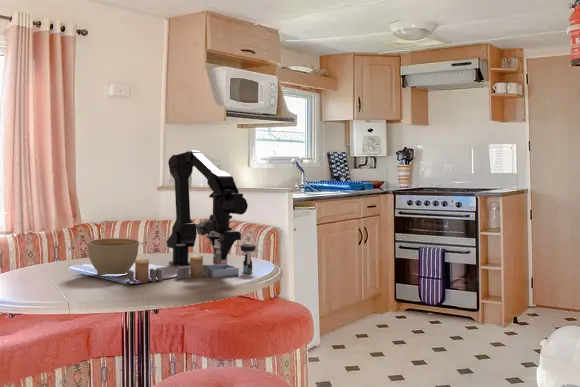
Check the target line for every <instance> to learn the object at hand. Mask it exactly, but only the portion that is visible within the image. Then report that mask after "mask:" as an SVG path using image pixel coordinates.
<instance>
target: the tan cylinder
mask: <svg viewBox="0 0 580 387" xmlns="http://www.w3.org/2000/svg"><path fill="white" fill-rule="evenodd" d="M189 259H190V260H189V262H190V264H189V278H192V279H201V278H203V273H202V272H203V265H204V262H203V261H204V260H203V259H204V256H203V255H191V256H189Z"/></svg>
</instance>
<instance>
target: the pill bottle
mask: <svg viewBox="0 0 580 387" xmlns="http://www.w3.org/2000/svg"><path fill="white" fill-rule="evenodd" d="M212 250H213V253H212V265H219V266H222V265H226V264H228V256H227V257H226V259H225V260H222V258H221V248H220V243H219V242H218V241H217V239H215V245H214V246H213V247H212Z"/></svg>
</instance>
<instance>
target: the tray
mask: <svg viewBox="0 0 580 387" xmlns="http://www.w3.org/2000/svg"><path fill="white" fill-rule="evenodd" d="M207 265H208V266H210V273H209V277H211V278H213V279H215V278H224V277H226V276H227V277H234V276H235V277H237V276H236V275H238V276H239V275H240V273H239V272H240V268H239V267H237V266H234V265H232V264H229V263H227V264H226V265H222V266H219V265H214V264H207ZM202 274H203V272H202Z"/></svg>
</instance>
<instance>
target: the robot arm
mask: <svg viewBox="0 0 580 387" xmlns="http://www.w3.org/2000/svg"><path fill="white" fill-rule="evenodd" d="M167 162H168V167H169V168H168V169H169V173H170V175H171V177H173V179H174V191H175V192H174V196H175V212H176V213H175V214H176V215H175V218H176V219H175V221H174V223H173V225H172V227H171V228H172V229H171V234H170V236H169V237H168V239H167V241H166V246H167V248H169V249H172V261H170V260H169V263H170V264H171V265H173V266H187V265H189V266H190V261H189V259H190V256H189V255H190V254H189V252H190V251H189V248H194V247H195V243H196V239H197V235H200V236H205V238H207V239H208V240H209V241H210V243H211V246H212V248H213V246H214V245H215V239H217V241H218V242H219V243H220V248H221V258H222V260H225V259H226V257H227V258H228V255H229V252H230V251H231V249H232V247H233V245H234V243H235V242H236V241H241V240H242V233H241V232H240V231H239V230H235V229H233V228H232V227H230V225H231V224H230V222H231V219H233V215H239V216H240V215H244V214H245V213H246V212H247V210H248V208H249V203H248V202H247V199H246V198H245V197H244V193H240V192H239V189H238V188H237V185H236V183H235V179H234V177H233V175H231V174H230V173H228V172H226V171H223V170H220V169H219V168H217V167H216V166H215V165H214V164H213V163H212V162H211V161H210V160H209V159H208V158H207V157H206V156H204V155H203V152H202V151H200V150H188V151H187V150H186V151H185V152H183V153H178V154H172V155H171V156H170V157H169V158H168V161H167ZM194 167H195V169H196V170H197V171H198V172H199V173H200V174H201V175H203V177H204V178H205V179H206V180H207V183H206V184H207V186H209V188H210V190H211V191H212V193H210V194H209V195H208V198H210V199H212V214H210V215H209V219H207V220H204V221H202V222H199V223H194V222H193V220H192V219H191V206H190V205H191V204H190V203H191V202H190V184H189V183H190V181H189V180H190V177H191V175H192V174H193V171H194V170H193V169H194ZM232 214H233V215H232Z"/></svg>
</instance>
